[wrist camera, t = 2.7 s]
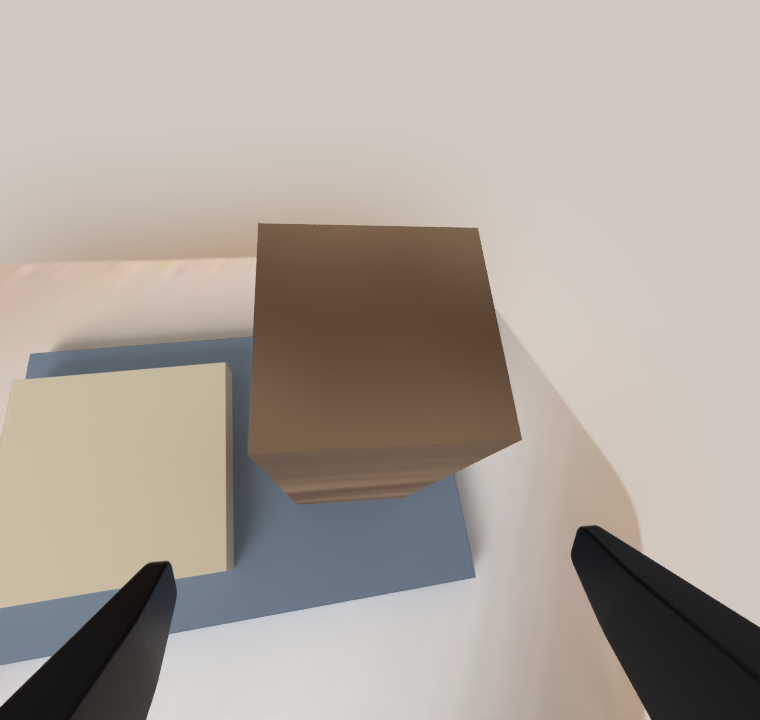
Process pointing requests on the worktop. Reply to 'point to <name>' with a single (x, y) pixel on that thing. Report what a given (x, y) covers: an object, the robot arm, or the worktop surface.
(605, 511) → the worktop surface
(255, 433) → the walnut pillar
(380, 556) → the board
